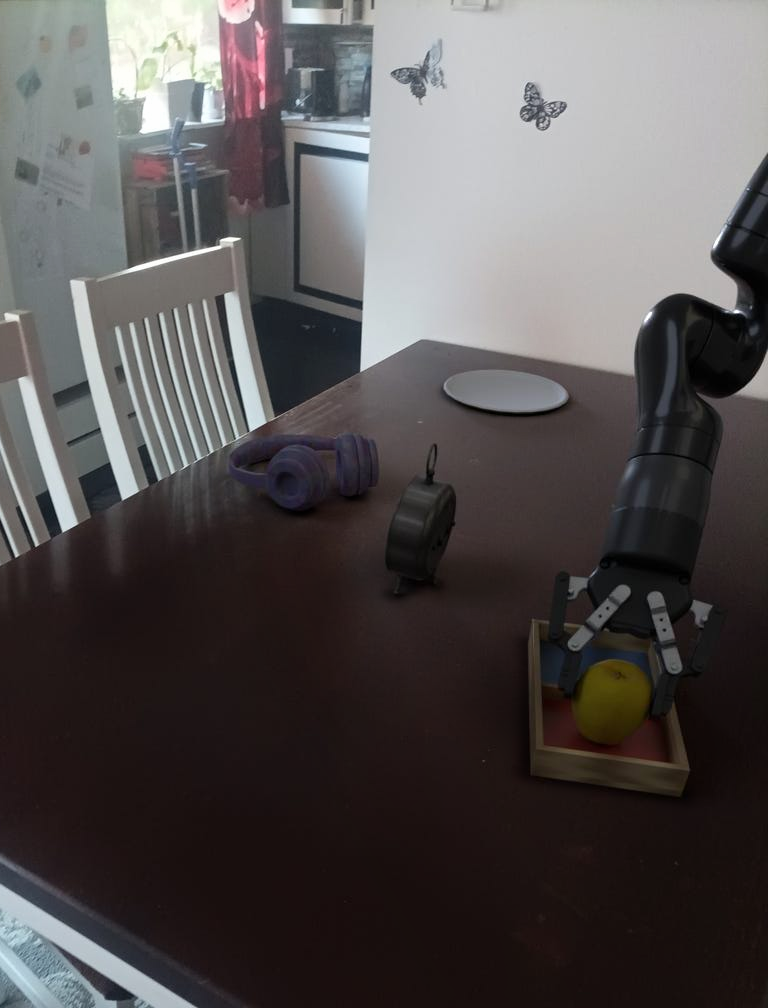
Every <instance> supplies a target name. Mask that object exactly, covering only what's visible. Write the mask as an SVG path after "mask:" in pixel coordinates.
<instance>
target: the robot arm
mask: <svg viewBox="0 0 768 1008" xmlns="http://www.w3.org/2000/svg"><path fill="white" fill-rule="evenodd" d="M709 256H710V260H711V262H712V264H713V265H714V266H715V267H716V268H717V269H718V270H719V271H721V272H722V273H723V274H725V275H726V276H727V277H729V278H730V279H731V280H732V281H733V282H734V283H735V285H736V300H735V303H734V308H733V310H732V311H731V310H729V309H727V308H724V307H722V306H720V305H718V304H715V303H714V302H713V303H712V302H710V301H708V300H706V299H703V298H701V297H699V296H697V295H694V294H690V293H685V292H675V293H673V294H670V295H666V296H665V297H664V298H662V299H660V300H659V301H658V302H657V303H655V304H654V305H653V306H652V307H651V308H650V309H649V311H648V313H647V314H646V315H645V317H644V319H643V320H642V322H641V324H640V326H639V329H638V331H637V335H636V338H635V343H634V353H633V369H634V370H633V371H634V385H635V387H634V389H635V415H636V416H635V417H636V419H635V420H636V422H635V429H634V433H633V437H632V440H631V444H630V447H629V448H630V449H629V453H628V456H627V460H626V465H625V468H624V471H623V473H622V475H621V478H620V480H619V482H618V486H617V488H616V492H615V495H614V498H613V503H612V504H611V506H610V507H611V508H610V515H609V519H608V523H607V527H606V530H605V534H604V539H603V543H602V546H601V551H600V555H599V558H598V561H597V562H598V563H597V566H596V569H595V570H594V572H592V573H591V574H590V575H589V577H582V576H573V575H572V576H571V575H570V573H569V572H567V571H564V570H561V571H558V572H557V573H556V575H555V579H554V585H553V586H554V587H553V593H552V599H551V600H552V601H551V608H550V613H549V614H550V615H549V620H548V621H549V628H548V641H549V643H551V644H552V645H556V646H557V647H559V648H561V649H562V650H563V652H564V654H565V656H564V660H563V664H562V668H561V672H560V676H559V680H558V688H559V690H560V691H564V696H563V699H567V700H572V696H573V692H574V688H575V684H576V680H577V676H578V672H579V668H580V664H581V660H582V656H583V655H582V654H581V653H582V652H583V651H584V650H585V649H586V648H587V646H588V645H589V644H590V643H591V642H592V641H593V640H595V639H596V638H597V637H598V636H599V635H600V633H601V632H602V631H603V630H604V629H605V628H607V629H608V630H609V632H613V633H617V634H625V633H628V634H630V635H633V636H635V637H637V638H640V639H645V640H647V639H648V638H651V640H652V643H653V646H654V650H655V652H656V654H657V656H658V659H659V663H660V666H661V670H662V673H661V674H660V676H659V677H658V680H657V684H656V688H655V692H654V697H653V701H652V706H651V709H650V713H649V718H648V720H651V721H655V722H658V720H659V719H660V716H666V715H667V714H668V713H669V711H670V710H671V708H672V704H673V700H674V699H675V695H676V691H677V687H678V683H679V680H680V679H682V678H699V677H701V675H703V674H704V672H705V671H706V670H707V669H708V666H709V664H710V662H711V658H712V655H713V652H714V650H715V648H716V645H717V641H718V639H719V636H720V634H721V631H722V628H723V625H724V622H725V619H726V616H727V614H728V607H727V606H726V605H725V604H723V603H715V604H709V603H706V602H703V601H700V600H697V599H694V596H693V594H692V590H691V584H692V580H693V575H694V571H695V566H696V562H697V558H698V554H699V550H700V545H701V542H702V538H703V533H704V529H705V526H706V520H707V516H708V511H709V507H710V503H711V492H712V490H711V489H712V482H713V476H714V472H715V467H716V464H717V460H718V455H719V451H720V448H721V444H722V438H723V433H724V422H723V418H722V416H721V414H720V413H719V412H718V410H716V409H715V407H713V406H712V405H711V404H710V403H708V402H707V401H706V400H704V399H703V398H702V397H701V396H704V397H706V398H710V399H714V400H721V399H726V398H729V397H731V396H733V395H735V394H737V393H738V392H740V391H741V390H743V389H744V388H745V387H746V386H748V384H749V383H751V382H752V380H753V379H754V378H755V376H756V375H757V374H758V373H759V371H760V369H761V368H762V365H763V363H764V361H765V358H766V356H767V353H768V151H767V152H766V154H765V155H764V157H763V158H762V159H761V161H760V163H759V164H758V166H757V168H756V169H755V171H754V172H753V174H752V176H751V177H750V179H749V180H748V182H747V184H746V186H745V187H744V189H743V190H742V192H741V194H740V196H739V198H738V199H737V201H736V203H735V204H734V206H733V208H732V210H731V211H730V213H729V215H728V216H727V218H726V220H725V223H723V225H722V226H721V228H720V230H719V232H718V234H717V235H716V238H715V239H714V241H713V243H712V245H711V249H710V253H709ZM700 395H701V396H700ZM582 592H586V594H587V595H588V598H589V600H590V602H591V605H592V607H593V608H594V609H593V610H594V612H593V613H592V614H591V615H589V617H588V618H587V619H586V621H585V622H584V623H583V624H582V625H583V626H582V627H581V628H580V629H579V630H578V631H577V632H576V633H575V634H574V635H573V636H572V635H571V634H569V633H567V632H566V631H564V630H563V629H564V623H566V622H565V621H566V616H567V615H566V614H567V607H568V603H574V602H575V601H576V600H577V599H578V597H579V595H580V594H581V593H582ZM687 614H690V615H692V617H693V626H694V628H695V629H696V630H698V631H700V632H699V634H698V637H697V639H696V643H695V646H694V648H693V651H692V654H691V656H690V658H688V659H687V658H686V659H681V656H680V654H679V650H678V647H677V640H676V636H675V633H674V630H673V627H672V626H673V625H674V624H675V623H677V622H678V621H679V620H680V619H682V618H683V617H684V616H686V615H687Z"/></svg>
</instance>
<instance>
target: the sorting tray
mask: <svg viewBox="0 0 768 1008" xmlns="http://www.w3.org/2000/svg"><path fill="white" fill-rule="evenodd" d="M549 621H550V620H546V619H545V620H544V619H536V618H532V620H531V625H530V630H529V636H528V640H527V659H528V660H527V667H528V669H527V671H528V714H529V715H528V717H529V718H528V719H529V720H528V721H529V760H530V761H529V762H530V763H529V764H530V765H529V766H530V767H529V768H530V775H531V776H534V777H535V776H536V777H542V778H549V779H556V780H563V781H569V782H576V783H583V784H588V785H589V784H590V785H596V786H603V787H610V788H615V789H616V788H617V789H623V790H632V791H636V792H643V793H644V792H645V793H651V794H659V795H665V796H671V797H678V798H681V797H682V794H683V791H684V789H685V787H686V783H687V781H688V778H689V775H690V772H691V769H690V764H689V760H688V756H687V755H688V754H687V751H686V747H685V743H684V739H683V735H682V730H681V726H680V721H679V718H678V713H677V709H676V706H675V705H676V704H675V701H674V700H673V704H672V708H671V710H670V711H669V713H668V714H667V715H666V716H660V719H659V720H658V722H655V721H651V720H648V718H649V715H648V717H647V719H646V721H645V722H644V724H643V725H642V726H641V727H640V728H639V729H638V730H637V731H636V732H635V733H633V734H632V735H631V736H629V737H627V738H626V739H624V740H623V741H621V742H620V743H618V744H615V745H606V744H601V743H595V742H593V741H590V740H588V739H586V738H585V737H583V736H582V734H581V732H580V731H579V729H578V727H577V725H576V722H575V719H574V715H573V710H572V700H567V699H563V696H564V691H560V690H559V688H558V680H559V676H560V672H561V668H562V664H563V660H564V656H565V654H564V652H563V650H562V649H561V648H559V647H557V646H556V645H552V644H551V643H549V641H548V628H549ZM583 625H584V624H577V623H568V622H564V629H563V630H564V631H566V632H567V633H569V634H571V635H572V636H573V635H574V634H575V633H576V632H577V631H578V630H579V629H580V628H581V627H582V626H583ZM581 654H582V655H583V656H582V660H581V664H580V668H579V672H578V676H577V680H578V679H579V678H580V676H581V674H582V673H583V672H584V671H586V670H587V669H589V668H590V667H592V666H593V665H595V664H597V663H599V662H601V661H605V660H610V659H618V660H624V661H627V662H630V663H633V664H635V665H637V666H638V667H639V668H640V669H641V670H642V671H643V672H644V673H645V674H646V676H647V677H648V679H649V681H650V684H651V686H652V692H653V697H654V692H655V688H656V684H657V680H658V677H659V676H660V674H661V673H662V670H661V666H660V663H659V659H658V656H657V654H656V652H655V650H654V646H653V643H652V640H651V638H648V639H647V640H645V639H640V638H637V637H635V636H633V635H630V634H628V633H625V634H617V633H613V632H609V630H608V629H607V628H605V629H604V630H603V631H602V632H601V633H600V635H599V636H598V637H597V638H596V639H595V640H593V641H592V642H591V643H590V644H589V645H588V646H587V648H586V649H585V650H584V651H583V652H582V653H581ZM577 680H576V682H577ZM652 701H653V700H652ZM649 713H650V712H649Z"/></svg>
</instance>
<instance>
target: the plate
mask: <svg viewBox="0 0 768 1008" xmlns="http://www.w3.org/2000/svg"><path fill="white" fill-rule="evenodd" d="M443 391H444V393H445V394H446V395H447V396H448V398H451V399H452V400H454V401H455V402H457V403H459V404H462V405H465V406H466V407H470V408H474V409H476V410H481V411H486V412H491V413H492V412H493V413H498V414H514V415H523V414H524V415H525V414H526V415H527V414H529V415H530V414H532V415H533V414H539V413H546V412H549V411H553V410H557V409H558V408H561V407H562V406H564V405H565V404H566V403H567V402H568V400H569V399H570V396H569V392H568V390H566V388H565V387H564V386H562V385H561V384H559V383H558V382H556V381H553V380H552V379H549V378H547V377H543V376H541V375H537V374H534V373H528V372H523V371H518V370H509V369H507V370H506V369H478V370H468V371H465V372H461V373H457V374H454V375H452V376H450V377H449V378H447V380H446V381H444V382H443Z"/></svg>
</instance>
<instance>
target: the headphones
mask: <svg viewBox="0 0 768 1008" xmlns="http://www.w3.org/2000/svg"><path fill="white" fill-rule="evenodd" d="M321 451H334V455H335V456H334V457H335V458H334V459H335V471H336V478H337V483H338V487H339V491H340V494H342V496H345V497H353V496H355V495H363V494H364V493H365V492H366V491H367V490H368V489H369V488H376V486H378V483H379V478H380V463H379V453H378V448H377V444H376V441H375V440H374V439H373V438H372V437H369V438H367V437H366V438H365V437H364V436H362V435H361V434H360V433H358V432H352V433H350V432H342V433H339V434H338V435H337V436H336V438H333V437H328V436H321V435H313V434H311V435H310V434H274V435H265V436H262V437H256V438H253V439H250V440H248V441H246V442H244V443H242V444H240V445H239V446H237V447H236V448H235V449H233V451H232V452H230V454H229V456H228V459H227V460H228V461H227V462H228V463H227V464H228V472H229V476H230V477H231V478H232V479H234V480H235V481H236V482H237V483H241V484H242V485H246V486H250V487H254V488H259V489H261V490H263V491H265V492H266V493H267V494H269V496H270V498H271V499H272V500H273V501H274V502H275V503H276V504H277V505H278V506H280V507H282V508H284V509H287V510H291V511H294V512H301V511H306V510H309V509H310V508H313V507H315V506H317V505H319V504H320V503H321V502H322V501H323V500H324V499H325V497H326V495H327V493H328V492H329V488H330V479H331V478H330V472H329V468H328V466H327V464H326V462H325V460H324V459H323V457H322V456H321V454H320V453H318V452H321ZM267 460H269V462H268V464H267V469H266V472H265V473H258V472H255V471H248V470H246V469H242V468H241V467H244V466H247V465H251V464H256V463H260V462H262V461H267Z"/></svg>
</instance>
